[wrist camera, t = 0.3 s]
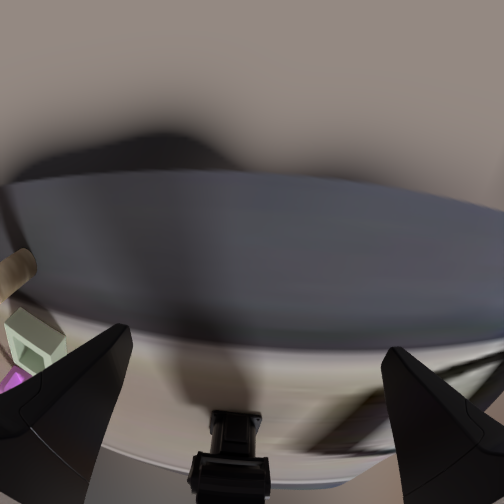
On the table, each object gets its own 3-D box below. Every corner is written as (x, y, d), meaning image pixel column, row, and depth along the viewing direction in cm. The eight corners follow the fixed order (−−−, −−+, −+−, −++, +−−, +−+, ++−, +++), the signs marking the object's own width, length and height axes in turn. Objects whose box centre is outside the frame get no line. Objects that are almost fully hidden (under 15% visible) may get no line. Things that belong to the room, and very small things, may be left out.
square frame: (65, 336, 28) (50, 355, 24) (68, 373, 31) (56, 391, 27) (20, 306, 26) (4, 322, 23) (26, 346, 29) (13, 362, 26)
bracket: (14, 364, 32) (-4, 388, 26) (34, 374, 33) (16, 401, 26) (38, 405, 37) (25, 428, 31) (57, 415, 37) (44, 439, 31)
